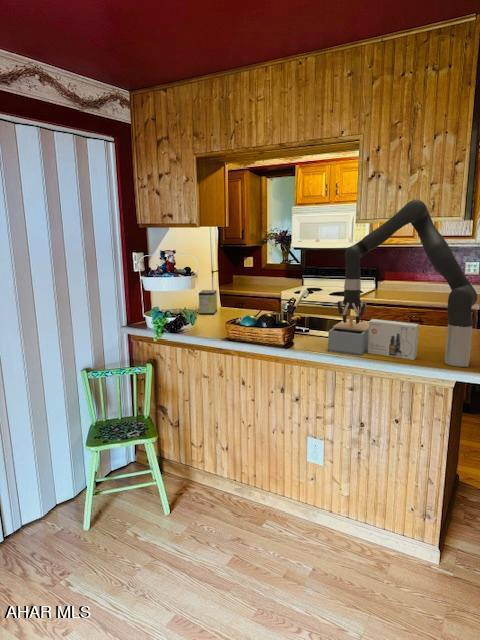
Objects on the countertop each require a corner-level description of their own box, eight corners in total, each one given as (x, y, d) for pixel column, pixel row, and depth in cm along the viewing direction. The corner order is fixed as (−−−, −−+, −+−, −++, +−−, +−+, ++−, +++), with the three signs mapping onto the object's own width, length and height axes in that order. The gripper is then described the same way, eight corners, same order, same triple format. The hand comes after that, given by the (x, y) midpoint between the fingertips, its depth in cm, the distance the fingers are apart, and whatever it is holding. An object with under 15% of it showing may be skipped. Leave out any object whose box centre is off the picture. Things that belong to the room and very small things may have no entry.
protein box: (217, 310, 311) (216, 289, 308) (214, 315, 296) (213, 292, 293) (203, 310, 312) (202, 289, 309) (199, 315, 297) (198, 293, 294)
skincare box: (366, 353, 201) (368, 320, 198) (370, 350, 205) (372, 318, 202) (414, 360, 189) (416, 325, 186) (416, 357, 194) (419, 323, 190)
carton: (370, 347, 211) (371, 327, 209) (361, 355, 198) (362, 334, 196) (338, 343, 219) (339, 324, 217) (327, 351, 206) (328, 331, 204)
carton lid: (374, 324, 214) (374, 312, 213) (365, 331, 201) (366, 318, 200) (342, 321, 222) (343, 309, 221) (332, 328, 209) (333, 315, 208)
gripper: (369, 288, 203) (367, 323, 206) (340, 286, 210) (338, 320, 214) (365, 290, 197) (364, 326, 200) (335, 288, 204) (334, 323, 207)
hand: (351, 322), depth 207 cm, fingers closed on carton lid, 5 cm apart
